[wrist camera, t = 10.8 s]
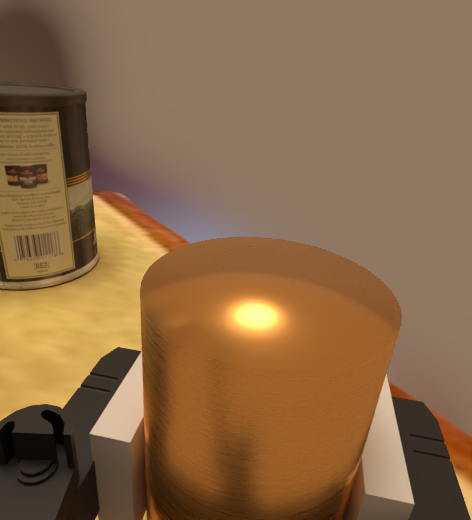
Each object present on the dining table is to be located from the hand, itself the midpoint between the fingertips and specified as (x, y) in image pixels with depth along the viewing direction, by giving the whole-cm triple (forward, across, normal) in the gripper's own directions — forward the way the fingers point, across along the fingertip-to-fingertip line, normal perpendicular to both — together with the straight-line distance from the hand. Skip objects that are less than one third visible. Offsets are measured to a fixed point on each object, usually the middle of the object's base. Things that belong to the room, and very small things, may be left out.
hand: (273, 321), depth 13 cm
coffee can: (+18, -22, -10) cm, 29 cm away
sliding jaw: (-5, +2, -8) cm, 10 cm away
